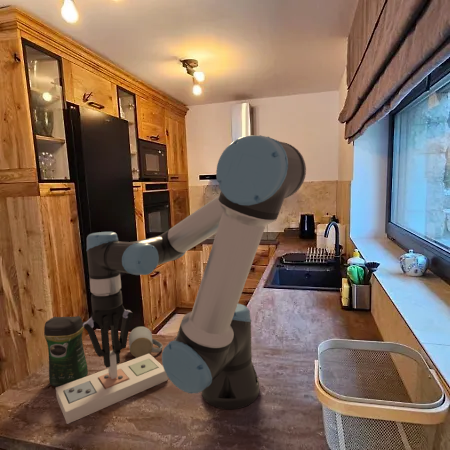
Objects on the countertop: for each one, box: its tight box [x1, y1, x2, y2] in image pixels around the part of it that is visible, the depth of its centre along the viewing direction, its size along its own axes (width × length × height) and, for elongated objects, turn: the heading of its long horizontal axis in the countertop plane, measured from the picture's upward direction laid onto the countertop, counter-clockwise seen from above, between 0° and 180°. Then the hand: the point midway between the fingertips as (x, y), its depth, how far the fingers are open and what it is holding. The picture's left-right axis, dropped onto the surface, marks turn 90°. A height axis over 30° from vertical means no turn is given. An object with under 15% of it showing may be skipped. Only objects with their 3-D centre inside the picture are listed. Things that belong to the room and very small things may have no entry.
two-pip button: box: [99, 369, 128, 389], centre depth 86 cm, size 6×6×3 cm
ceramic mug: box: [128, 326, 163, 358], centre depth 105 cm, size 11×8×8 cm
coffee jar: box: [43, 315, 89, 387], centre depth 91 cm, size 10×8×19 cm
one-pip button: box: [129, 359, 158, 376], centre depth 91 cm, size 6×6×3 cm
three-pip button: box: [64, 381, 96, 404], centre depth 81 cm, size 6×6×3 cm
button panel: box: [55, 353, 169, 425], centre depth 86 cm, size 12×26×3 cm, turn 128°
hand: (113, 376), depth 86 cm, fingers closed
